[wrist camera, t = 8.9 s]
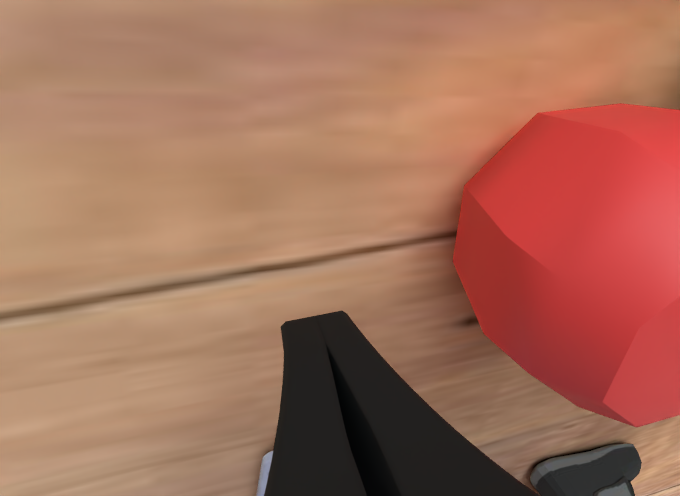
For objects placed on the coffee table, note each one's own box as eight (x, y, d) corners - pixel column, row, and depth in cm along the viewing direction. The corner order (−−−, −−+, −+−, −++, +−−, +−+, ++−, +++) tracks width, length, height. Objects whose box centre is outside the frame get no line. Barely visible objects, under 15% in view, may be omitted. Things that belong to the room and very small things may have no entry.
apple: (503, 23, 11) (907, 131, 5) (689, 114, 14) (1077, 250, 8) (379, 276, 15) (519, 528, 8) (550, 303, 18) (745, 501, 12)
